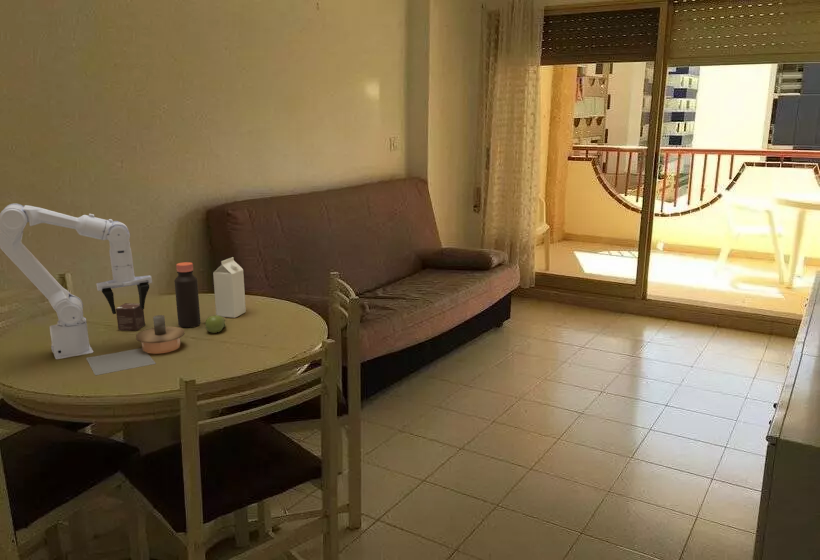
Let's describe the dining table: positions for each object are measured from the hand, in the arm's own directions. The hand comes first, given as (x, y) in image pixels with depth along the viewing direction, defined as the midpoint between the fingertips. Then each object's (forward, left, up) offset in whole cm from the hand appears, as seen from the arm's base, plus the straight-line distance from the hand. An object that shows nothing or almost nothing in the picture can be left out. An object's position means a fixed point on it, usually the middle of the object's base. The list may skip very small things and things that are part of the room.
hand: (128, 310), depth 192 cm
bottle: (+19, +10, -11) cm, 24 cm away
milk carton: (+34, +14, -11) cm, 39 cm away
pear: (+25, +1, -11) cm, 27 cm away
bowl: (+6, -8, -10) cm, 15 cm away
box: (+3, +17, -11) cm, 20 cm away
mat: (-6, -13, -10) cm, 17 cm away
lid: (+6, -8, -6) cm, 12 cm away
